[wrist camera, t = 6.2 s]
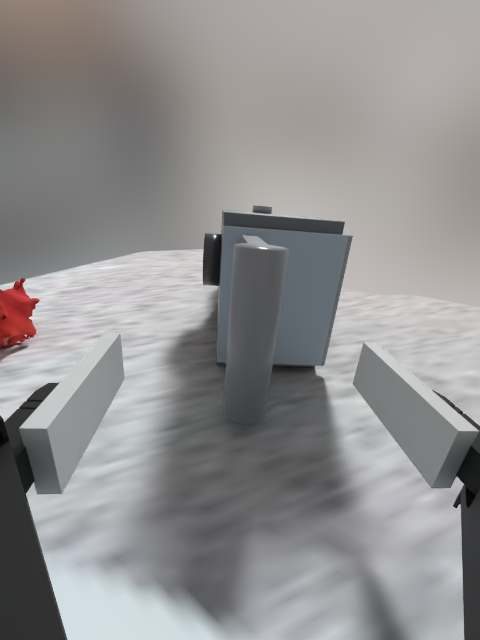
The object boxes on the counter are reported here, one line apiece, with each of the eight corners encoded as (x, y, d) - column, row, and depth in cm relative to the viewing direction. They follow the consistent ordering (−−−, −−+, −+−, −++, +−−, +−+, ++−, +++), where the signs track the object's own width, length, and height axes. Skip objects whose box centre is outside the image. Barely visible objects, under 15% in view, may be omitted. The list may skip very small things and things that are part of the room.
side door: (322, 360, 28) (349, 235, 23) (370, 431, 19) (427, 252, 14) (216, 356, 27) (223, 225, 22) (215, 430, 18) (226, 237, 14)
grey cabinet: (279, 307, 45) (293, 209, 39) (315, 368, 28) (347, 211, 23) (204, 303, 44) (208, 202, 38) (195, 364, 27) (199, 198, 22)
